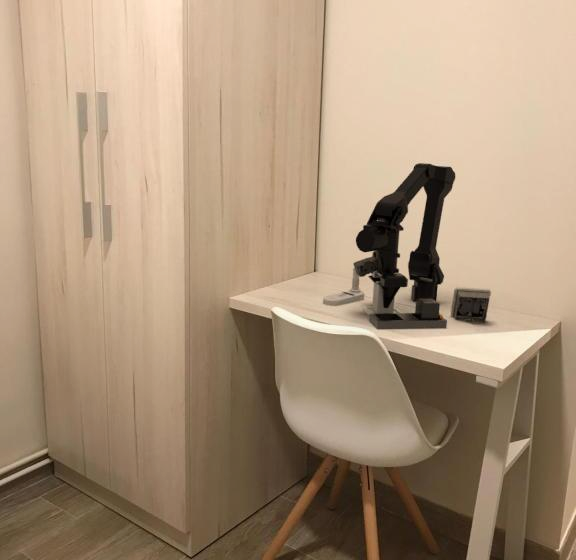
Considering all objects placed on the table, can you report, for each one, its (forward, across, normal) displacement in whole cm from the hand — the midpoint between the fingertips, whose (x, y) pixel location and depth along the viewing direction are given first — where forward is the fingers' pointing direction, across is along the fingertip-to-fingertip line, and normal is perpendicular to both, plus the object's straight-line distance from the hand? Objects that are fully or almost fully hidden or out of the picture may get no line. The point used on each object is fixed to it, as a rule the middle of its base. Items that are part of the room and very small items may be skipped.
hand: (383, 305), depth 167 cm
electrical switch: (+3, +7, +22) cm, 23 cm away
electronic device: (+3, -13, -7) cm, 15 cm away
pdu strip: (+2, +11, +3) cm, 12 cm away
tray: (+2, 0, 0) cm, 2 cm away
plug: (+2, 0, 0) cm, 2 cm away
